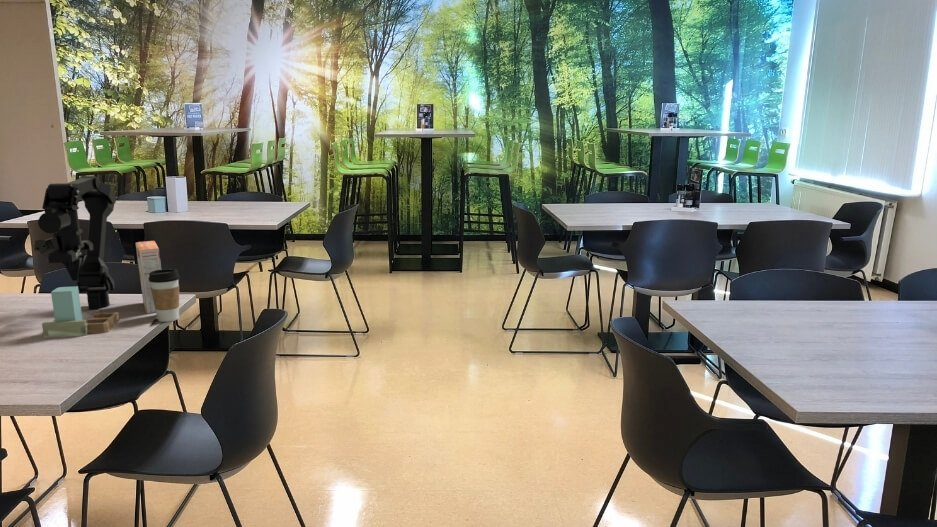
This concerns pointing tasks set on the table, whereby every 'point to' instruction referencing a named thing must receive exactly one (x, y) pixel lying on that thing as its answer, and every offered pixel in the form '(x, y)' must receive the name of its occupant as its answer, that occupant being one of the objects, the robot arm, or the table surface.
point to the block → (66, 304)
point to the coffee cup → (165, 293)
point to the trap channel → (81, 326)
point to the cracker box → (147, 270)
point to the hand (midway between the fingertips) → (74, 280)
